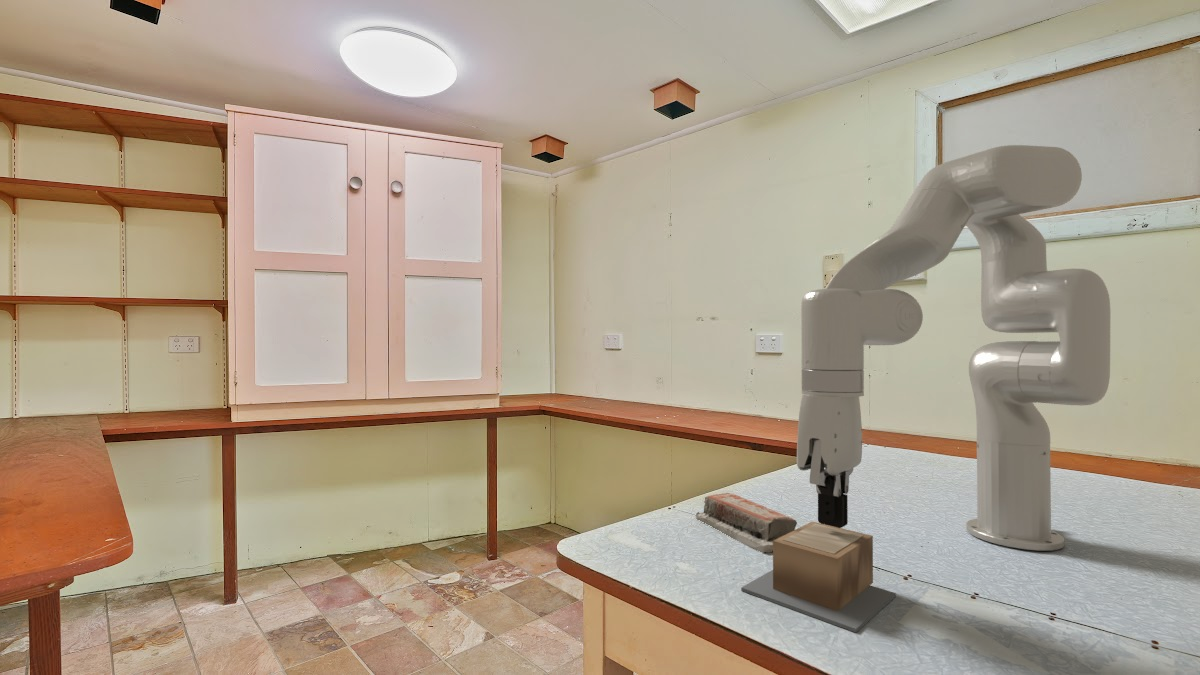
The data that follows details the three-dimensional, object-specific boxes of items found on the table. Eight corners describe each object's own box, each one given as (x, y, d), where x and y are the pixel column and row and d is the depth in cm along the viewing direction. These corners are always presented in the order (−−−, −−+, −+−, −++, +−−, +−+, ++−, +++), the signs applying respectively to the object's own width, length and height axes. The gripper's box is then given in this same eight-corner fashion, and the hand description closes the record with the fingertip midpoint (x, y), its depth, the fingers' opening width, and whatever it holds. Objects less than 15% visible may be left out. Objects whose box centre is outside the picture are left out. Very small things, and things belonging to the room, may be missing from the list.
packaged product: (693, 494, 98) (738, 488, 102) (693, 521, 98) (738, 514, 102) (763, 524, 81) (813, 516, 85) (763, 557, 81) (813, 547, 85)
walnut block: (812, 520, 76) (773, 540, 69) (872, 535, 71) (837, 557, 63) (812, 564, 76) (773, 589, 68) (872, 582, 70) (837, 611, 63)
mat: (788, 563, 78) (788, 560, 78) (895, 596, 67) (895, 593, 67) (741, 590, 69) (741, 587, 69) (855, 632, 59) (855, 628, 59)
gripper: (828, 379, 80) (828, 506, 79) (777, 384, 69) (777, 530, 69) (883, 382, 74) (883, 518, 74) (837, 388, 64) (837, 546, 64)
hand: (832, 523), depth 71 cm, fingers closed
